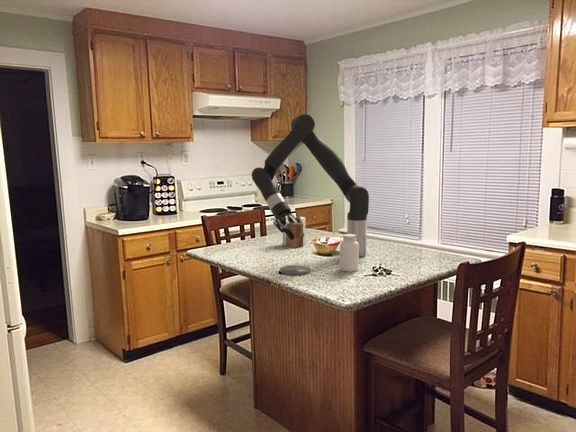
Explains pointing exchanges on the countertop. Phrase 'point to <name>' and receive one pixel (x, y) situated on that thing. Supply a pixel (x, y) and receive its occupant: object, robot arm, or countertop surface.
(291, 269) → the disc
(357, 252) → the pill bottle
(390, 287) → the countertop surface
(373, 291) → the countertop surface
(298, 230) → the walnut block
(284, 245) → the supplement box
